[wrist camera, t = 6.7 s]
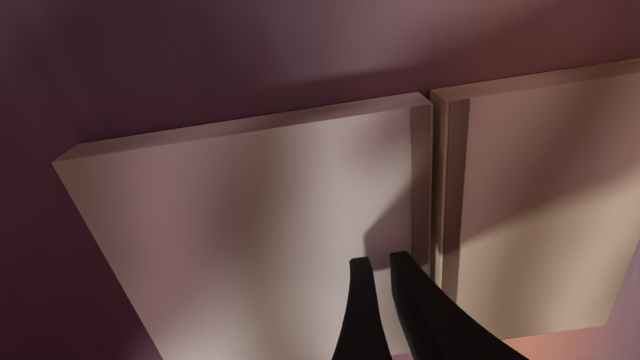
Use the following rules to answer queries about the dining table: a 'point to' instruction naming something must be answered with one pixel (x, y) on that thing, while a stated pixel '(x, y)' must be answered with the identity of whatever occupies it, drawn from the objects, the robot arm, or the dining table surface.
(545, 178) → the laid board
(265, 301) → the beige flat square block
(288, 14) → the dining table surface
